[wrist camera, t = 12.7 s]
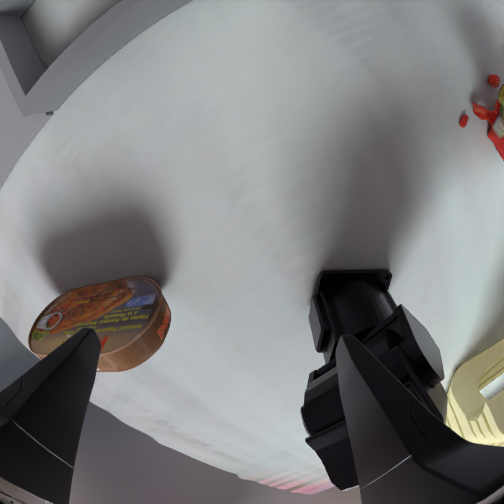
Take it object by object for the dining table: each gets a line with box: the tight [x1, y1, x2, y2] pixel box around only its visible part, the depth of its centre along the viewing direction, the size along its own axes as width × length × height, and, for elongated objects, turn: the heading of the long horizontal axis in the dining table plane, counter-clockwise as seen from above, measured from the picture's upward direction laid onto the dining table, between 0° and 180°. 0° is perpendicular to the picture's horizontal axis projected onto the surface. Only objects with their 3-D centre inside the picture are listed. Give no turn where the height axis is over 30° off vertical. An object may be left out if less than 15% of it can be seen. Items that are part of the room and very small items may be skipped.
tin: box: [28, 276, 171, 372], centre depth 20 cm, size 15×3×8 cm, turn 103°
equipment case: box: [0, 0, 192, 189], centre depth 10 cm, size 13×26×4 cm, turn 120°
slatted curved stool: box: [446, 338, 504, 447], centre depth 25 cm, size 30×16×18 cm, turn 23°
